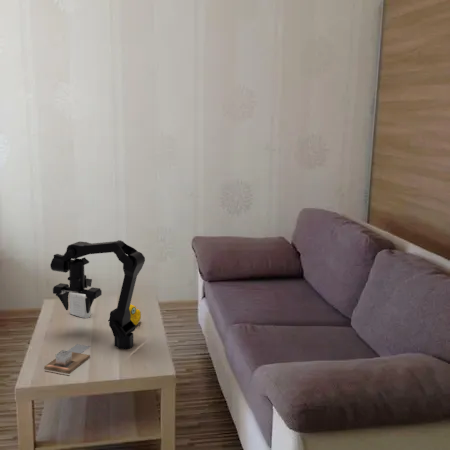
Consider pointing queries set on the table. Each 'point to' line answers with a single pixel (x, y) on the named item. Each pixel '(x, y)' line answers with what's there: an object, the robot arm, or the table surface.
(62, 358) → the block
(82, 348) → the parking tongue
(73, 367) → the board
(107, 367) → the table surface
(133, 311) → the duckling
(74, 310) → the photo printer
